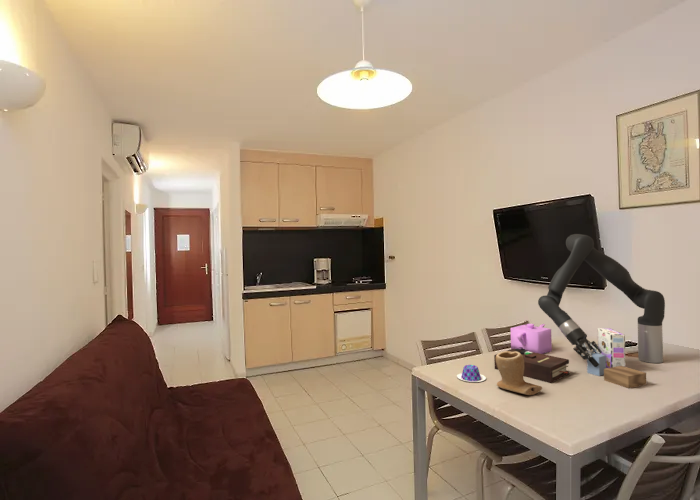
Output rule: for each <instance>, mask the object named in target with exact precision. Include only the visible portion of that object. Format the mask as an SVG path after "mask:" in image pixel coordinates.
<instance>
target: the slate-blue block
mask: <svg viewBox="0 0 700 500" xmlns="http://www.w3.org/2000/svg"><path fill="white" fill-rule="evenodd" d="M591 355H592V357H594V359H595V360H596V361H597V362H598V363H599V365H598V366H597V367H594V366H593V365H592V363H591V362H590V361H589V360H587V359H586V367H587V368H586V370H587V371H586V372H587V374H590V375H595V376H598V377H600V376H604V369H606V355H602V354H597V353H595V352H594V353H591Z"/></svg>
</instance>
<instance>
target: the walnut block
mask: <svg viewBox="0 0 700 500" xmlns="http://www.w3.org/2000/svg"><path fill="white" fill-rule="evenodd" d="M603 381H605V382H607V383H611V384H614V385H618V386H620V387H623V388H626V389H633V388H638V387H642V386H647V372H645V371H642V370H638V369H634V368H630V367H627V366H625V367H624V366H617V367H612V368H606V369H604V375H603Z"/></svg>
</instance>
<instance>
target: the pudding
mask: <svg viewBox="0 0 700 500" xmlns="http://www.w3.org/2000/svg"><path fill="white" fill-rule="evenodd" d="M456 378H457V379H459V380H461V381H464V382H470V383H478V382H479V383H480V382H484V381H485V380H486V379H487V377H486V376H485V375H483V374H481V373H480V370H479V367H478V366H477V365H474V364H466V365H464V366H463V369H462V372H460V373H458V374H457V375H456Z"/></svg>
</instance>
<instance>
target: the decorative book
mask: <svg viewBox="0 0 700 500" xmlns="http://www.w3.org/2000/svg"><path fill="white" fill-rule="evenodd" d="M519 348H522V347H519ZM507 351H510V352H514V351H517V352H519V353H520V354H521V355H522V356H523V358H524V374H523V378H524V377H525V378H528V379H533V380H537V381H540V382H544V383H548V384H552V383H554V382H556V381H557V380H558V381H559V380H560V379H563V378H564V377H566V376H568V375H570V371H569V370H567V368H568V367H569V364H570V359H568V358H564V357H558V356H554V355H549V354H545V353H544V354H539V353H534V352H530V351H528V350H525V349H515V348H513V349H511V348H510V349H509V350H508V349H507ZM497 354H498V353H497ZM497 354H494V355H493V357H494V360H493V362H494V363H493V364H494V370H497V371H499V370H498V367H497V364H496V355H497Z"/></svg>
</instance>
